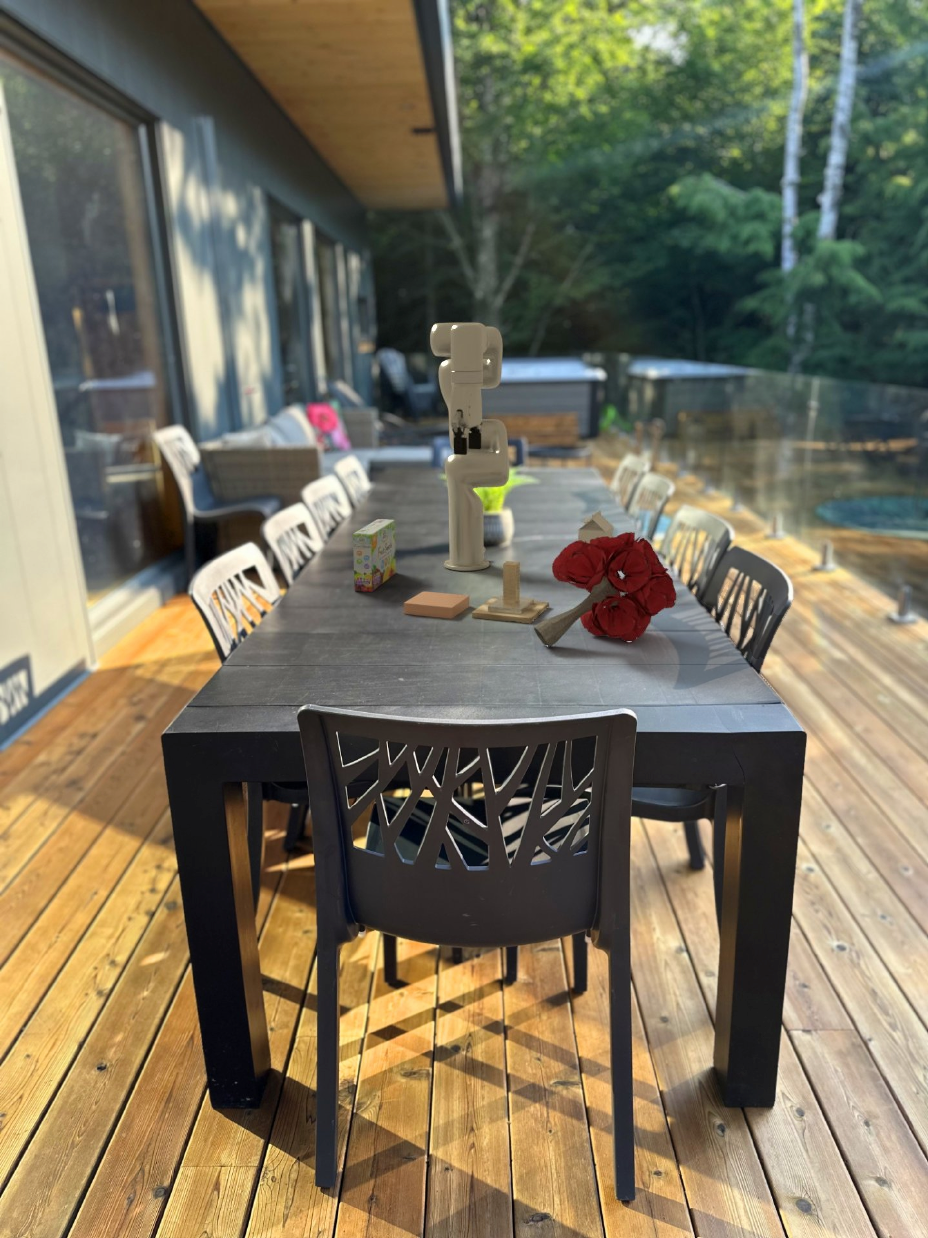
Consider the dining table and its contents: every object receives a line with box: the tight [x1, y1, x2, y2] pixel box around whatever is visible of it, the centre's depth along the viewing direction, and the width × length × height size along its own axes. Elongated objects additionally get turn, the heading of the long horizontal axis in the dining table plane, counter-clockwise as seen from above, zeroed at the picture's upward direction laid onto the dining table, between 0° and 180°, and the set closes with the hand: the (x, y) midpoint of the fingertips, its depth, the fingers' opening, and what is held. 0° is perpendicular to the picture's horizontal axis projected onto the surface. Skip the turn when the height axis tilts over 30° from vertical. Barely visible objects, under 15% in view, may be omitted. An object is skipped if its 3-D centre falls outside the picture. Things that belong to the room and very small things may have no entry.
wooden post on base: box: [488, 560, 535, 615], centre depth 208 cm, size 10×8×10 cm
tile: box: [403, 591, 470, 619], centre depth 212 cm, size 3×12×11 cm
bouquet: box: [533, 531, 677, 648], centre depth 185 cm, size 22×24×30 cm
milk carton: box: [577, 509, 614, 543], centre depth 229 cm, size 7×7×19 cm
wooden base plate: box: [471, 596, 550, 624], centre depth 210 cm, size 14×14×1 cm
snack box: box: [352, 518, 397, 593], centre depth 237 cm, size 21×6×15 cm, turn 168°
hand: (467, 451), depth 219 cm, fingers open, 9 cm apart
